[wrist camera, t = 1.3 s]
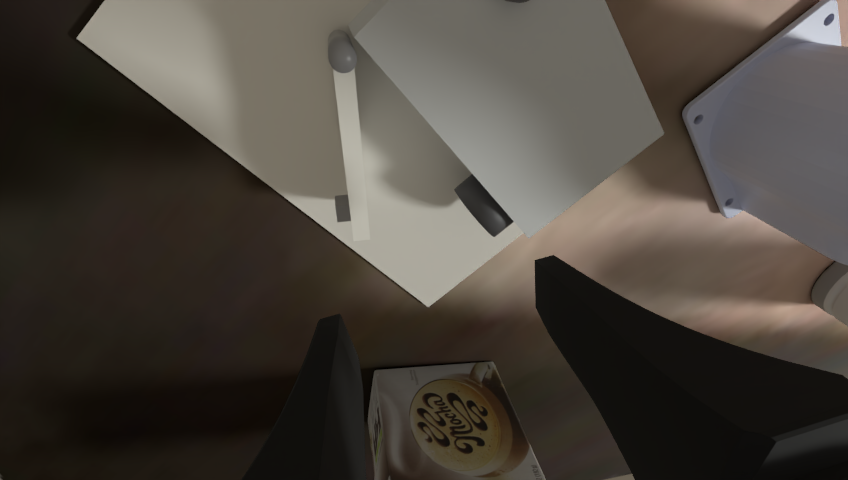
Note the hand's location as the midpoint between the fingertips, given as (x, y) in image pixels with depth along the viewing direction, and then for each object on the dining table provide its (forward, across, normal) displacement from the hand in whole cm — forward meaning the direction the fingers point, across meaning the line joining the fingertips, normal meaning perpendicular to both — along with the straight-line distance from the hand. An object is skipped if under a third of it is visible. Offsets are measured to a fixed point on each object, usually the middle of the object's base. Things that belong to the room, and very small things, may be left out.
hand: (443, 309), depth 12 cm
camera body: (+9, -5, -4) cm, 11 cm away
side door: (+9, +2, -4) cm, 10 cm away
